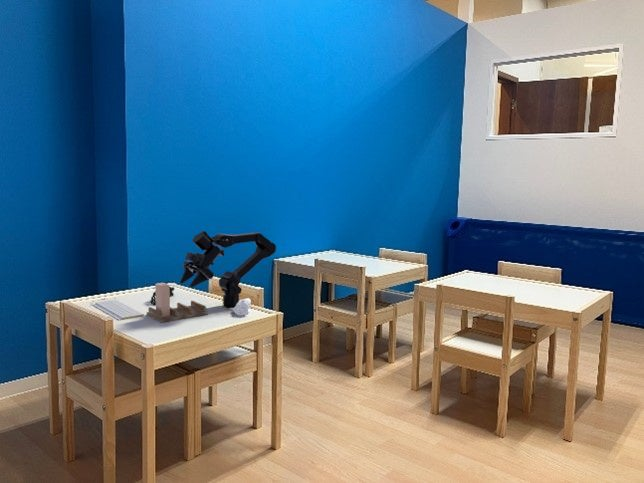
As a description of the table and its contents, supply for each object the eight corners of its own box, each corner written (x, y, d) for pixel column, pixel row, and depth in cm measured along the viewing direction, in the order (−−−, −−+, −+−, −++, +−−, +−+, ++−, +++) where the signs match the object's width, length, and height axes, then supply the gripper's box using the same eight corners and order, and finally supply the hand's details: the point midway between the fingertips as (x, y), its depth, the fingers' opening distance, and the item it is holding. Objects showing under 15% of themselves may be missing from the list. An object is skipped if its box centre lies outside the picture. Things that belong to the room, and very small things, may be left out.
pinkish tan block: (163, 312, 231) (163, 282, 229) (169, 315, 226) (169, 285, 224) (156, 313, 228) (155, 283, 227) (162, 317, 224) (161, 286, 222)
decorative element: (159, 306, 246) (159, 293, 245) (148, 305, 246) (148, 293, 245) (176, 295, 268) (176, 283, 267) (166, 294, 268) (166, 283, 267)
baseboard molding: (115, 322, 220) (143, 317, 228) (115, 315, 220) (143, 311, 228) (89, 306, 243) (115, 303, 251) (89, 300, 243) (115, 296, 251)
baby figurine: (239, 309, 245) (250, 294, 244) (250, 324, 236) (261, 309, 235) (225, 303, 239) (236, 288, 238) (235, 319, 230) (247, 303, 229)
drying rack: (191, 307, 244) (191, 299, 243) (208, 314, 233) (208, 306, 232) (146, 314, 230) (146, 306, 230) (161, 322, 219) (161, 314, 219)
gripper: (186, 242, 240) (163, 269, 235) (207, 247, 226) (182, 276, 221) (202, 258, 247) (180, 285, 241) (223, 264, 232) (200, 293, 227)
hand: (185, 284), depth 232 cm, fingers open, 9 cm apart
